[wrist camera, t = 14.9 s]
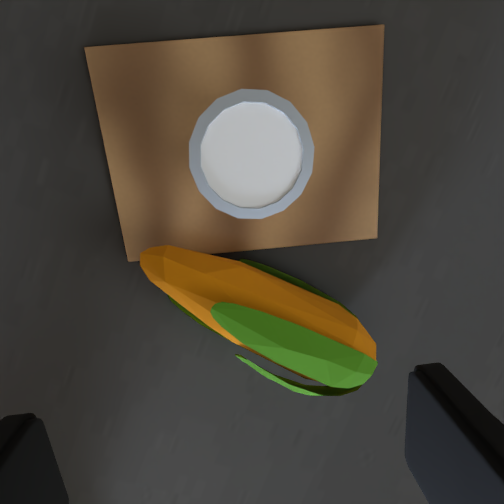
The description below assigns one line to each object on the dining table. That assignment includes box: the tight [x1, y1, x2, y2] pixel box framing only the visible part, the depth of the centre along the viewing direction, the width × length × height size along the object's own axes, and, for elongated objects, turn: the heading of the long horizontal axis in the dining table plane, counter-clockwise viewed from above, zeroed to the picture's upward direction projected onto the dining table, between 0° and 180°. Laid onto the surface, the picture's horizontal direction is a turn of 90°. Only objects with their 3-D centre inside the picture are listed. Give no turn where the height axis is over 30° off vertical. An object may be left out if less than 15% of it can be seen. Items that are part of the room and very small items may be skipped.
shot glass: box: [189, 89, 314, 219], centre depth 22 cm, size 7×7×7 cm
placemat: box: [84, 24, 384, 262], centre depth 25 cm, size 20×15×1 cm
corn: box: [140, 245, 378, 396], centre depth 26 cm, size 7×8×20 cm
